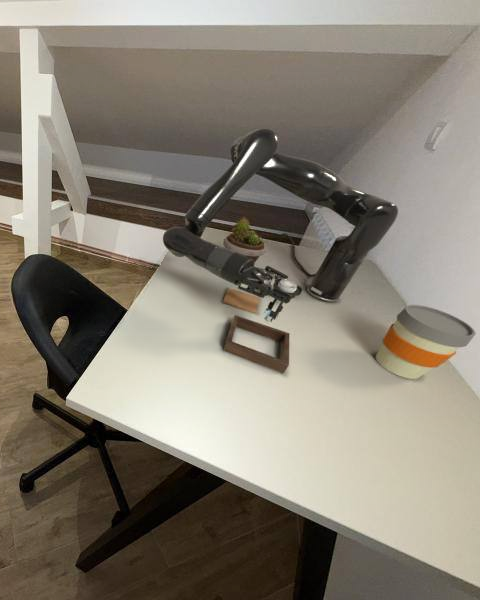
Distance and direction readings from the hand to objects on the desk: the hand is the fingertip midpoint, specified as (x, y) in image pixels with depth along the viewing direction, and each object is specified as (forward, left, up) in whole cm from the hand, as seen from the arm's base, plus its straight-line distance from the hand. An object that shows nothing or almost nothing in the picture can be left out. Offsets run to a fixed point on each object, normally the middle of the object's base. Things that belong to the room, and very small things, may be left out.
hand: (295, 295), depth 71 cm
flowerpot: (-48, -13, -18) cm, 53 cm away
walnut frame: (-1, -2, -17) cm, 18 cm away
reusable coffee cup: (-15, +31, -18) cm, 38 cm away
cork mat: (-23, -8, -17) cm, 30 cm away
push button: (-1, -3, -8) cm, 9 cm away
